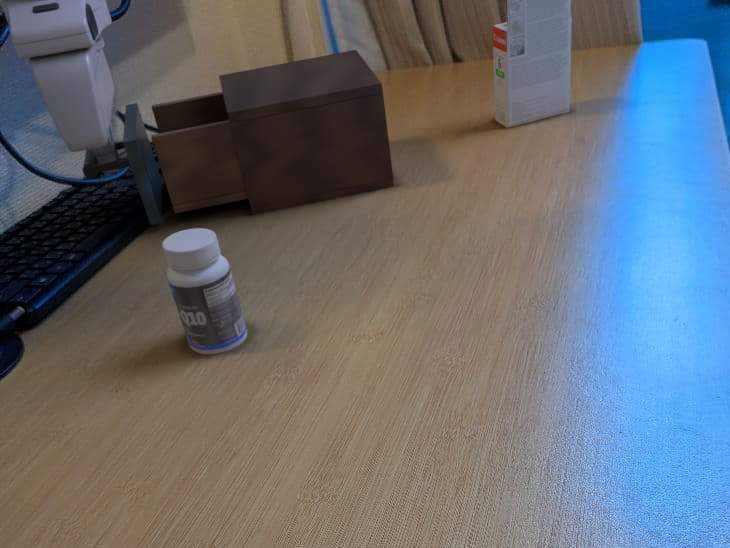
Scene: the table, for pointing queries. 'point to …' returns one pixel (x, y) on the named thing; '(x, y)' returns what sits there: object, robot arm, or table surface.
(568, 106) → the ink box
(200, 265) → the pill bottle
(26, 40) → the robot arm
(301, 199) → the cabinet
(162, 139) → the drawer
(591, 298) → the table surface
